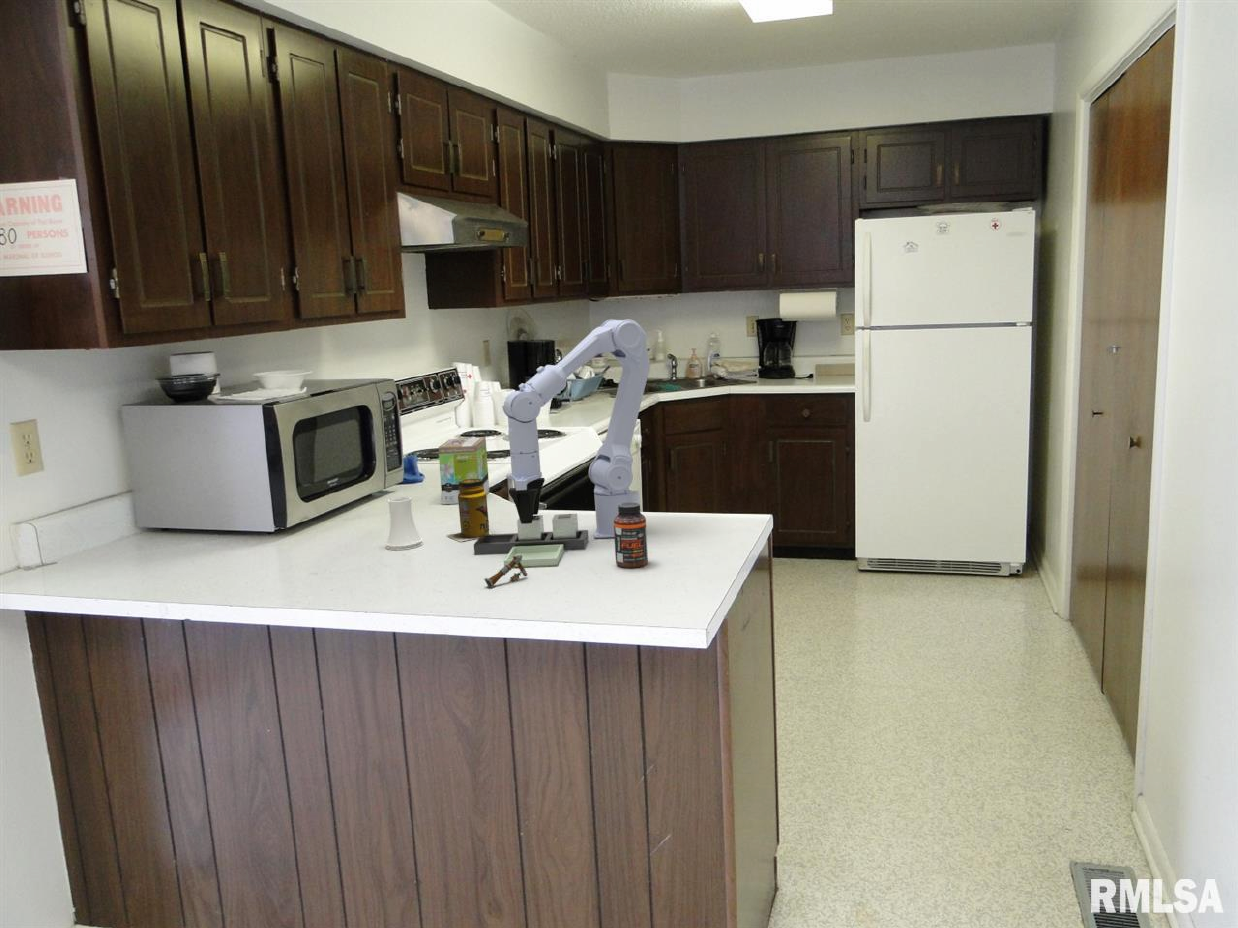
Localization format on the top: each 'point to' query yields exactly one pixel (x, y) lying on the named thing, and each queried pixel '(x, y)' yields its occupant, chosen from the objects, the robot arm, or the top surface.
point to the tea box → (462, 465)
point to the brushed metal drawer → (565, 526)
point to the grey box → (531, 529)
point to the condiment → (472, 510)
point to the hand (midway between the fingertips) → (529, 518)
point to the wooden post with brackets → (506, 569)
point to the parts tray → (536, 555)
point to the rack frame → (525, 542)
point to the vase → (402, 525)
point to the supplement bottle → (630, 536)
